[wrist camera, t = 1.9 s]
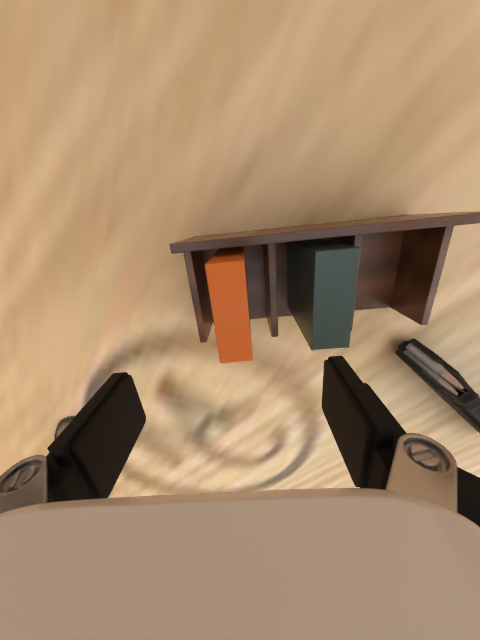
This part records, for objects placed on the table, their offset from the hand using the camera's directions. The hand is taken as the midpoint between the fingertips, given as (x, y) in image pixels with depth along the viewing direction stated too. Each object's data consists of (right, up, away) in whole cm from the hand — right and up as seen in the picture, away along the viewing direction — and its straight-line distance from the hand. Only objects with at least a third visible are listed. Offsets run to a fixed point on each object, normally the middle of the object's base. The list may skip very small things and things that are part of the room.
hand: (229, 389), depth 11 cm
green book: (+9, +10, +19) cm, 23 cm away
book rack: (+9, +10, +20) cm, 24 cm away
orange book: (0, +9, +20) cm, 22 cm away
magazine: (+36, -8, +28) cm, 46 cm away
